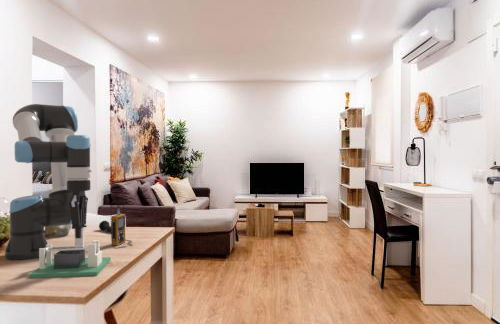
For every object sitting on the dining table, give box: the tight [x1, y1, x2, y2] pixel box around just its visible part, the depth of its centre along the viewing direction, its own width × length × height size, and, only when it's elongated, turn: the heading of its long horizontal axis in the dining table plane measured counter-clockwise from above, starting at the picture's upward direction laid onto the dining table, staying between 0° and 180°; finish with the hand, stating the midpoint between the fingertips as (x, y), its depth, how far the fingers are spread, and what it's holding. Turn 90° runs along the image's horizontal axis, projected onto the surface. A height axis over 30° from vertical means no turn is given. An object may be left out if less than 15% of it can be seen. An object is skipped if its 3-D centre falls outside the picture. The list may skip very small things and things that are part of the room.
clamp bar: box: [45, 245, 88, 252], centre depth 132 cm, size 17×4×2 cm, turn 97°
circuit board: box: [29, 239, 111, 279], centre depth 132 cm, size 21×18×9 cm
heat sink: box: [53, 249, 86, 269], centre depth 132 cm, size 8×8×5 cm
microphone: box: [98, 220, 111, 234], centre depth 195 cm, size 5×5×19 cm
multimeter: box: [110, 198, 135, 249], centre depth 168 cm, size 15×10×20 cm
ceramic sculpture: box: [44, 224, 72, 238], centre depth 183 cm, size 11×9×15 cm
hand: (79, 246), depth 132 cm, fingers closed
